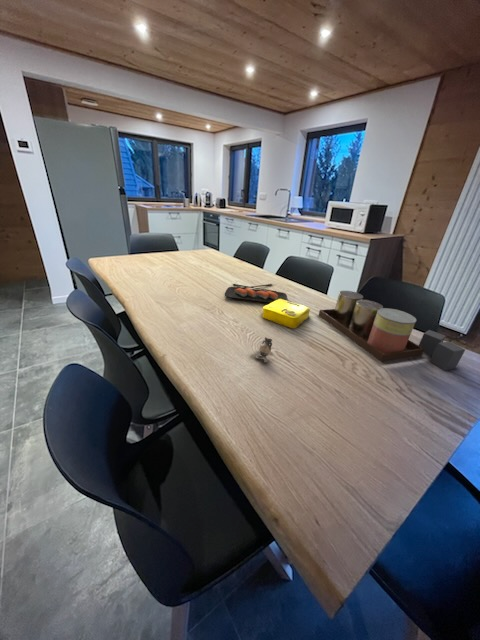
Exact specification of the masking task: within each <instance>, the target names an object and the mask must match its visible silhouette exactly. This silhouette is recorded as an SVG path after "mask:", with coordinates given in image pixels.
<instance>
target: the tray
mask: <svg viewBox="0 0 480 640" xmlns="http://www.w3.org/2000/svg"><path fill="white" fill-rule="evenodd" d="M334 311H335V308H327V309H319V311H318V316H319V317H320V318H322V319H323V320H324V321H326V322H327V323H328V324H329V325H331V326H332V327H333V328H335V329H336V330H337V331H339V332H340V333H342V335H344V337H347V338H348V339H349V340H351V341H352V342H353V343H355V344H356V345H357V346H359V348H361V349H363V350H364V351H366V352H367V353H368V354H370V355H371V356H372V357H373V358H375V359H376V360H377V361H379V362H380V363H383V362H384V363H385V362H390V361H396V360H403V359H410V358H417V357H422V356H423V354H424V352H423V351H424V349H423V348H422V347H420V346H419V344H417V343H415V342H413V341H411V339H408V342H407V344H406V347H405V349H404V351H400V352H393V353H386V354H383V353H382V352H380V351H379V350H377V349H376V348H374V347H373V346H372V345H370V344H369V343H367V341H368V339H369V337H363V336H359V335H356V334H355V333H353V332H352V331H350V330H349V325H348V324H342V323H339V322H338V321H336V320H335V319H333V314H334Z"/></svg>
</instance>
